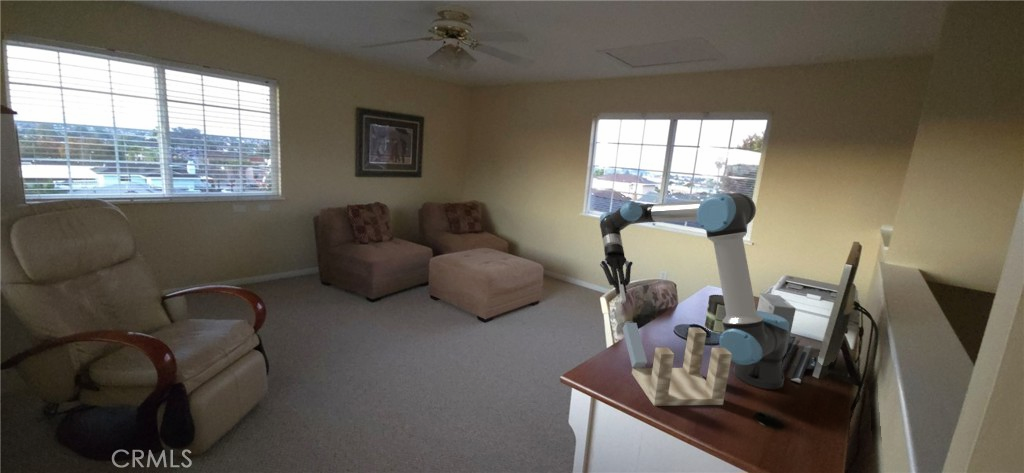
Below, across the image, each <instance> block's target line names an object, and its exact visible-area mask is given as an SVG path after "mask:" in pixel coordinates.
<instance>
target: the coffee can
mask: <svg viewBox="0 0 1024 473" xmlns="http://www.w3.org/2000/svg"><path fill="white" fill-rule="evenodd" d="M725 317H726V309H725V304H724V298H723V294H711V295H709V296H708V302H707V308H706V314H705V320H704V329H705V328H706V329H705V330H707V329H708V330H709V332H710V331H711V333H714V334H717V335H722V333H723V332H724V327H723V322H722V320H723V319H724V318H725ZM708 330H707V331H708Z"/></svg>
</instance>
